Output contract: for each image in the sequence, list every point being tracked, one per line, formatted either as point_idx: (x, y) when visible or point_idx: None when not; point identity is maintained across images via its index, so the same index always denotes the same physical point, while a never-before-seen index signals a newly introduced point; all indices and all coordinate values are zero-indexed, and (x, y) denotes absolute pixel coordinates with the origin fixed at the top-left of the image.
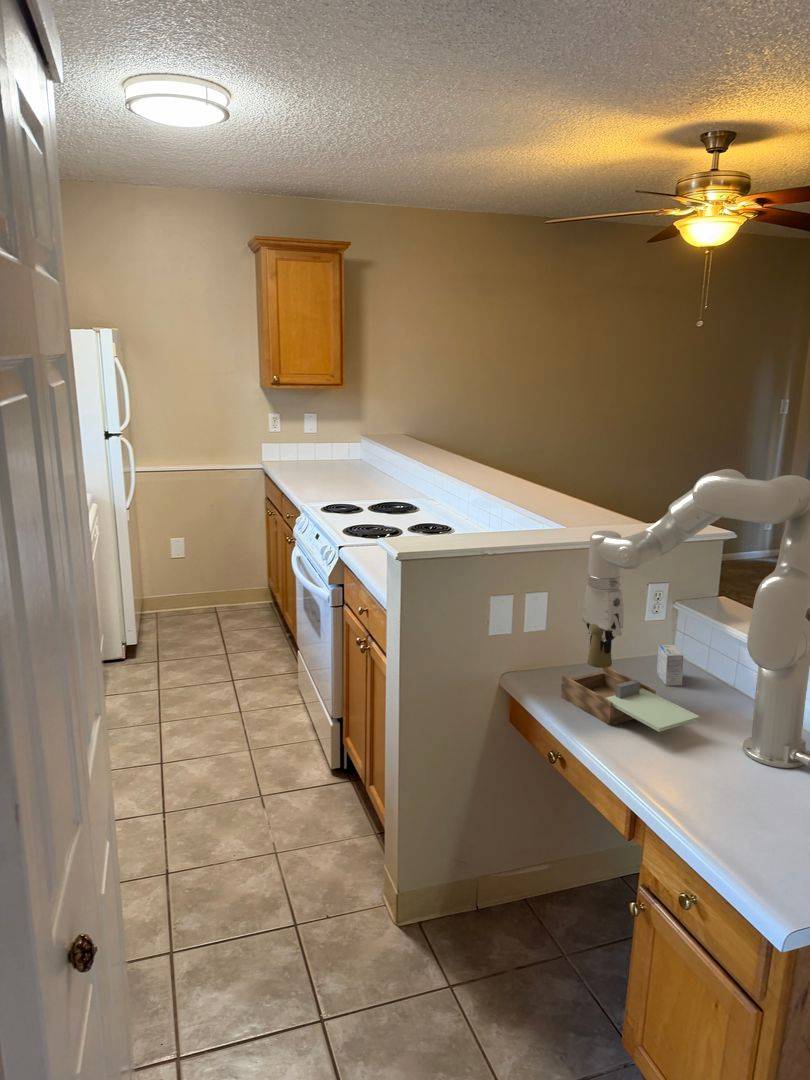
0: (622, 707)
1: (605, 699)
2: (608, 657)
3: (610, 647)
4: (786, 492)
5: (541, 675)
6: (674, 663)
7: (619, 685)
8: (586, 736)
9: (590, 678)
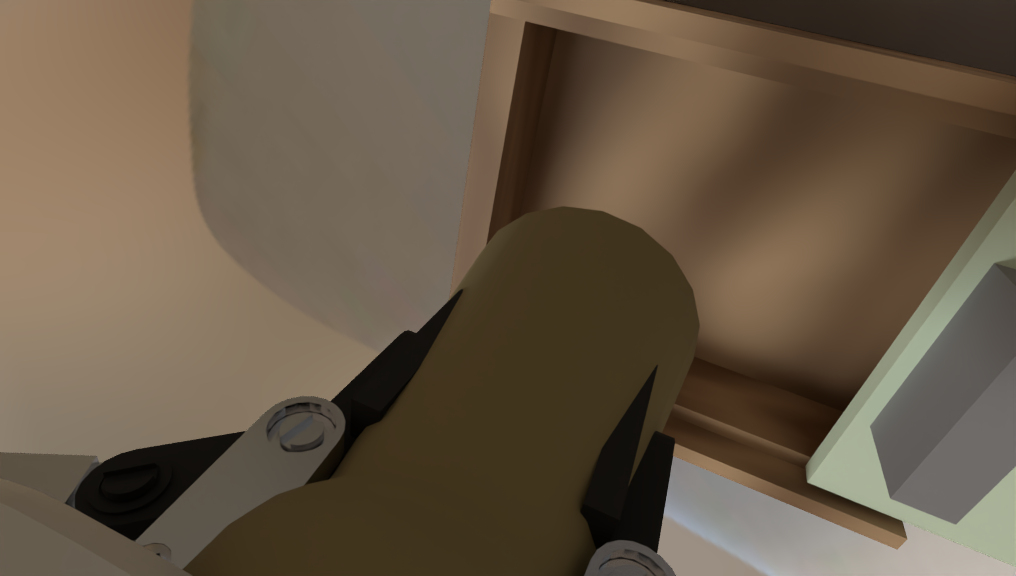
0: (1005, 553)
1: (841, 524)
2: (670, 402)
3: (665, 485)
4: None
5: (259, 136)
6: None
7: (930, 504)
8: (815, 560)
9: (507, 157)
